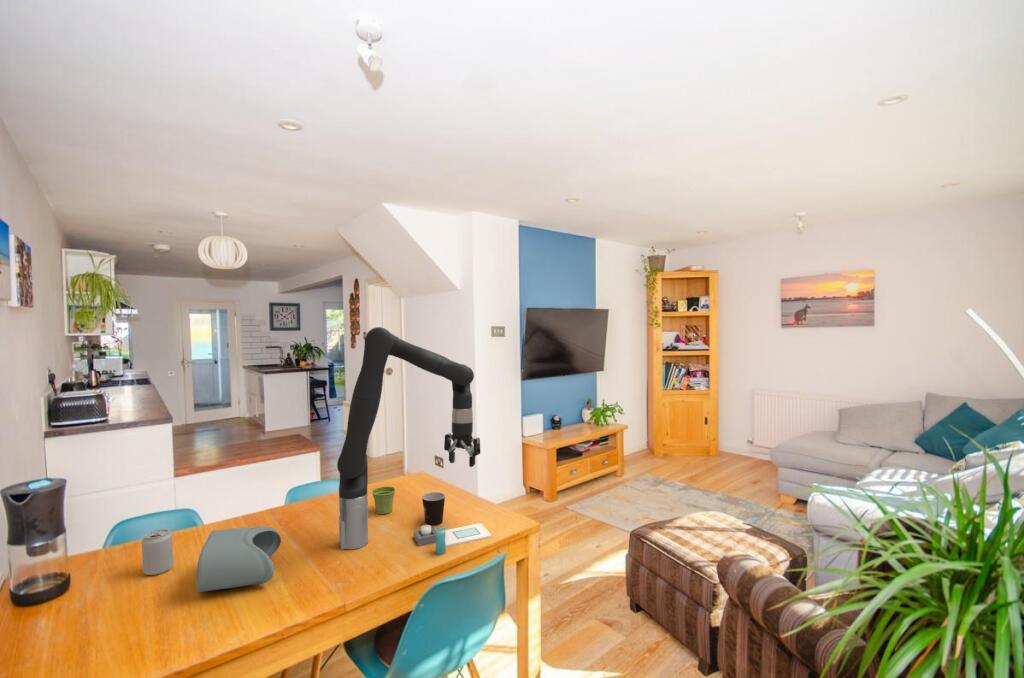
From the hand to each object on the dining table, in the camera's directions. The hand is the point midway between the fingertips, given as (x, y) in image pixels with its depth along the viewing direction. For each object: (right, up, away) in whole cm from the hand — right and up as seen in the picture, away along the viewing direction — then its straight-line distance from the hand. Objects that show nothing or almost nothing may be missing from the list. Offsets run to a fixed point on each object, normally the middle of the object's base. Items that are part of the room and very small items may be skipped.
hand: (461, 464), depth 173 cm
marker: (-5, -25, -15) cm, 30 cm away
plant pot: (-33, -24, +18) cm, 45 cm away
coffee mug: (-11, -24, +9) cm, 28 cm away
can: (-91, -26, -25) cm, 98 cm away
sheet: (+1, -24, -3) cm, 25 cm away
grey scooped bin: (-63, -26, -29) cm, 74 cm away
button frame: (-12, -25, -6) cm, 28 cm away
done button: (-12, -23, -6) cm, 27 cm away
